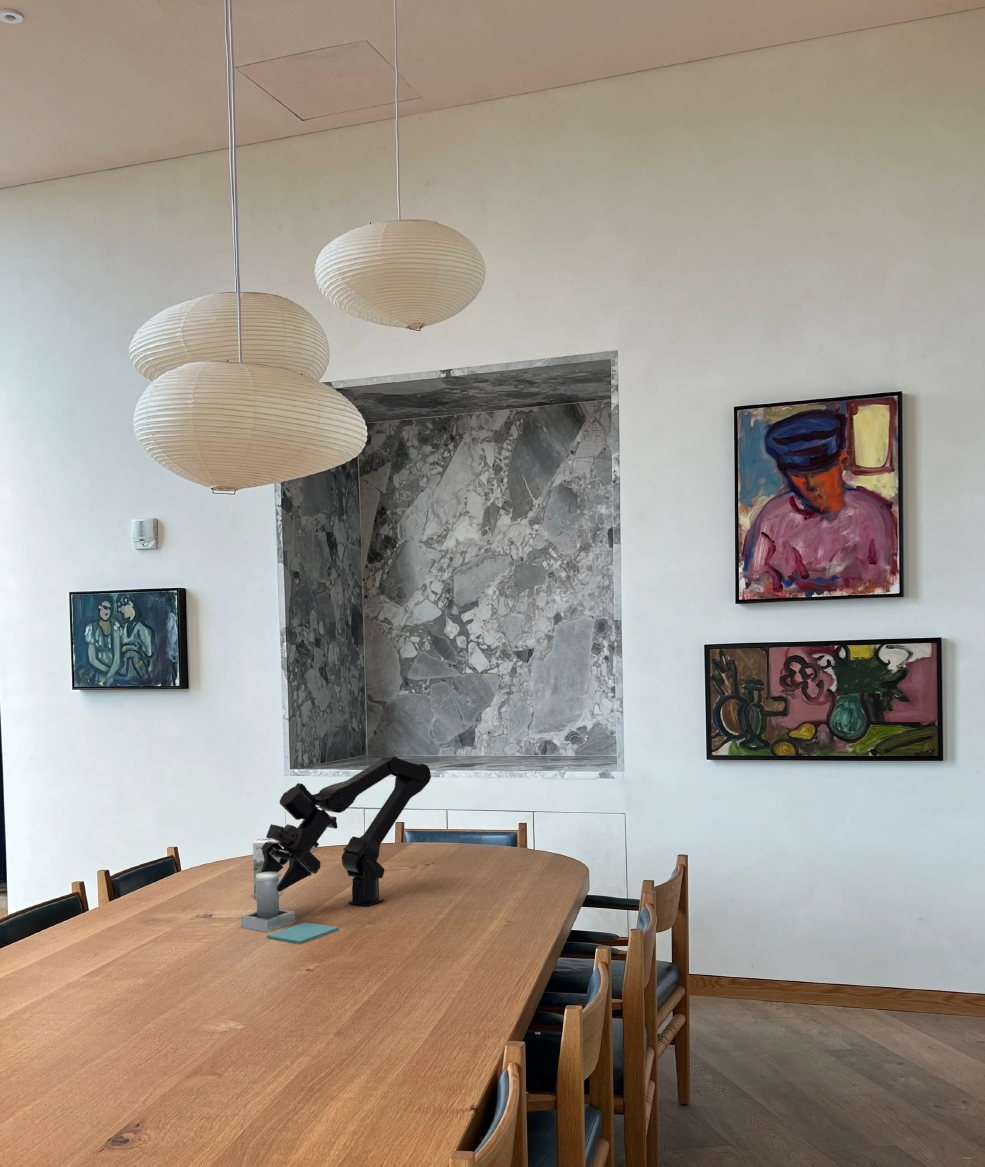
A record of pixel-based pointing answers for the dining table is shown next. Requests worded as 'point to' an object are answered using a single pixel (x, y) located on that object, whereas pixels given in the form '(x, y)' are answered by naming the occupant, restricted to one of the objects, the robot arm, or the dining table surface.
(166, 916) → the dining table surface
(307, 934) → the mat
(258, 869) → the syrup box
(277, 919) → the collar
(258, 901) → the ball
